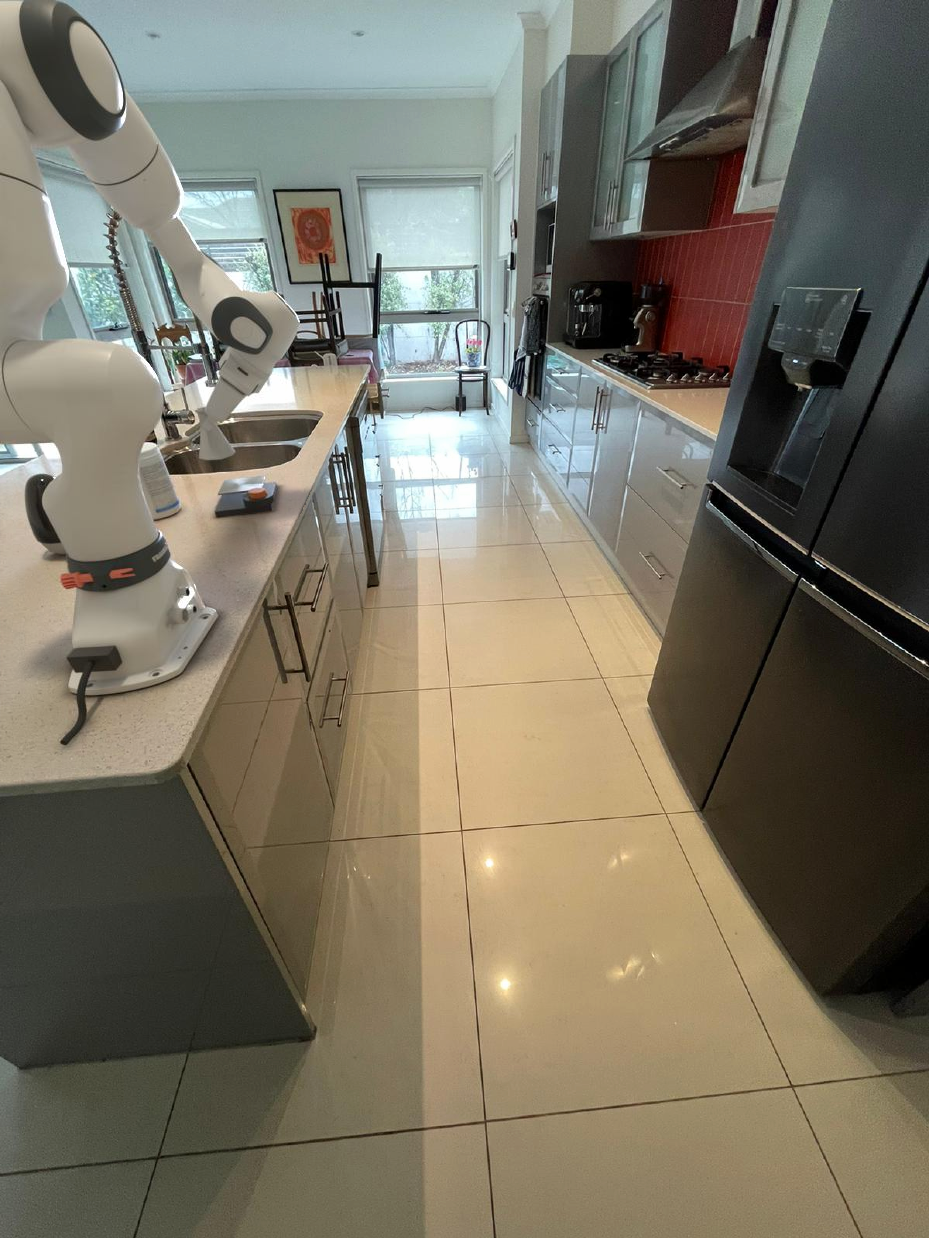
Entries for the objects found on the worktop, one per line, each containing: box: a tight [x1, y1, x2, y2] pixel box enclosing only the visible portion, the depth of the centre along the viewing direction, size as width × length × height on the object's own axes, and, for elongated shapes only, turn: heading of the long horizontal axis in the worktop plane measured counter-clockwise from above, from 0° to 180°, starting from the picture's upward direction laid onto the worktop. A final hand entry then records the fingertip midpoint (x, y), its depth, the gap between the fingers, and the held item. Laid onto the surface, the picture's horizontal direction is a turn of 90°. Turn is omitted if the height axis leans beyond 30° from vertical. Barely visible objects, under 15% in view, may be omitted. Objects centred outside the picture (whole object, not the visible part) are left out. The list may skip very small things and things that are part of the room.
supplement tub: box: [139, 441, 182, 521], centre depth 113 cm, size 10×10×15 cm
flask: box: [194, 406, 236, 461], centre depth 110 cm, size 7×7×10 cm
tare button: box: [248, 488, 267, 499], centre depth 116 cm, size 4×4×2 cm
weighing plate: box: [217, 475, 266, 496], centre depth 122 cm, size 10×10×1 cm
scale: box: [214, 481, 278, 518], centre depth 121 cm, size 16×13×3 cm
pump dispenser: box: [24, 473, 67, 555], centre depth 99 cm, size 10×10×15 cm
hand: (208, 425), depth 109 cm, fingers closed on flask, 3 cm apart
